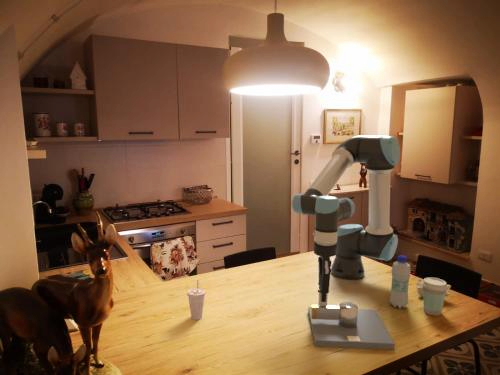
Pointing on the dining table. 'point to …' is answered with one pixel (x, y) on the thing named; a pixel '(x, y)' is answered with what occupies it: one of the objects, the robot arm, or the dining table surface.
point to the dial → (337, 313)
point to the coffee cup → (433, 295)
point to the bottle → (400, 282)
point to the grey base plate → (352, 332)
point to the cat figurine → (420, 288)
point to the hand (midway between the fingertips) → (322, 309)
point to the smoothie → (196, 302)
